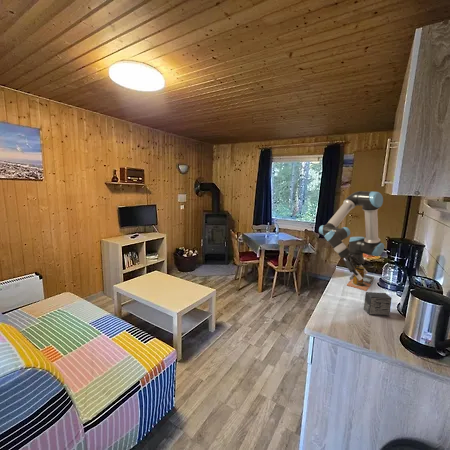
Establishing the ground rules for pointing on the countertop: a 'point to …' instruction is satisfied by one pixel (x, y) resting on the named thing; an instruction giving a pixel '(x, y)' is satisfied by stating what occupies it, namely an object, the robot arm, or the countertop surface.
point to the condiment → (355, 279)
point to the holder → (365, 277)
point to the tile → (359, 286)
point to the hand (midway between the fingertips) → (363, 276)
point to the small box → (377, 304)
